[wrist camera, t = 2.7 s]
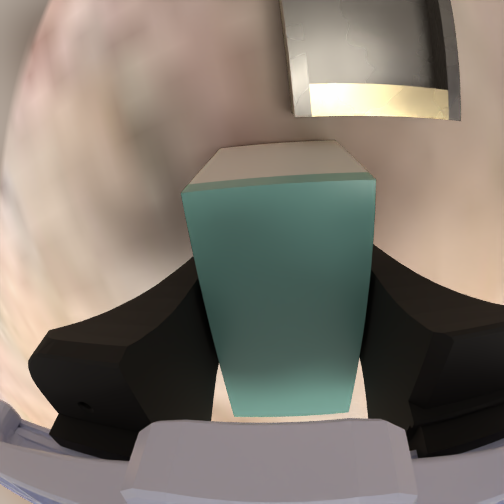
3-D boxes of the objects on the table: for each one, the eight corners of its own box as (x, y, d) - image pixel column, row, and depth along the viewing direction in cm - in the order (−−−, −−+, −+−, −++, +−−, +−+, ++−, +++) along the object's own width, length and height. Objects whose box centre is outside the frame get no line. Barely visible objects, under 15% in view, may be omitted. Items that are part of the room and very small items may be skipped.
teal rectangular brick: (335, 140, 10) (375, 179, 6) (333, 321, 14) (348, 412, 10) (220, 148, 11) (180, 193, 7) (246, 325, 15) (234, 416, 10)
